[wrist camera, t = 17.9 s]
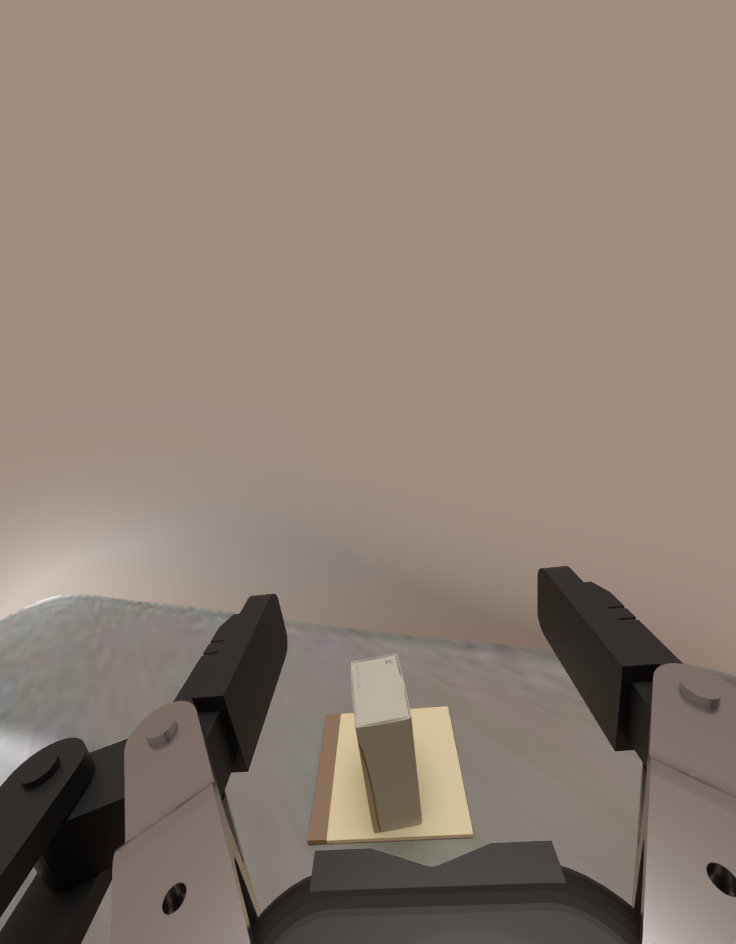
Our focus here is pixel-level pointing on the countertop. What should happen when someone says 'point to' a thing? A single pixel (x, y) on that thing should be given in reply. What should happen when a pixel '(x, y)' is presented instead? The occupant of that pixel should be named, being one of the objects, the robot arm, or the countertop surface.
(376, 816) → the skincare box
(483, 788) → the countertop surface
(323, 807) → the notepad
